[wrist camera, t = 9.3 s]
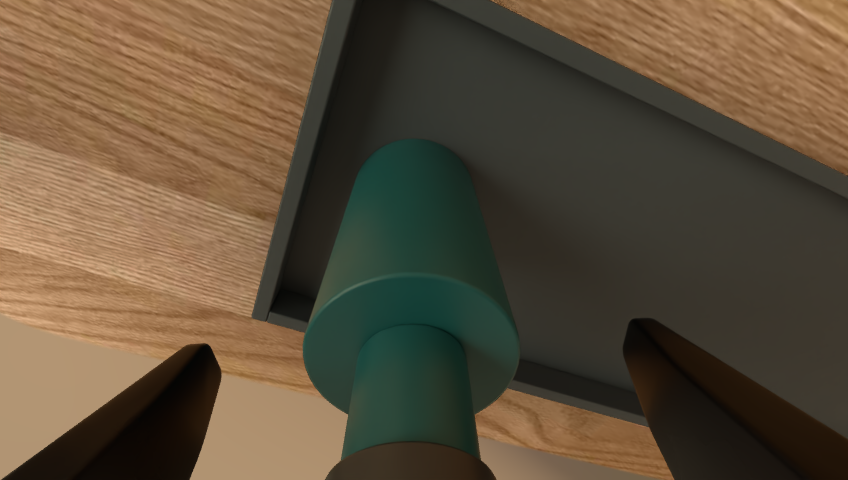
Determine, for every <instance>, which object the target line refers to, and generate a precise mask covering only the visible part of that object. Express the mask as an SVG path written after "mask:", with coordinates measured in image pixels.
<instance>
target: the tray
mask: <svg viewBox="0 0 848 480" xmlns="http://www.w3.org/2000/svg"><path fill="white" fill-rule="evenodd" d="M403 139H424V140H429V141H432V142H435V143H438V144H440V145H443V146H444V147H446V148H448V149H449V150H451V151H452V152H453V153H455V154H456V155H457V156H458V157H459V158H460V159H461V161H462V162H463V163H464V165H465V166H466V168H467V170H468V171H469V174H470V176H471V179H472V182H473V185H474V189H475V192H476V195H477V198H478V202H479V205H480V208H481V212H482V215H483V218H484V222H485V225H486V228H487V231H488V235H489V238H490V241H491V245H492V248H493V251H494V254H495V258H496V261H497V264H498V268H499V271H500V274H501V277H502V281H503V284H504V287H505V291H506V294H507V297H508V301H509V304H510V307H511V310H512V314H513V317H514V320H515V324H516V327H517V330H518V334H519V339H520V359H519V365H518V368H517V371H516V373H515V376H514V378H513V379H512V381H511V383H510V385H509V386H508V387H507V388H508V389H512V390H515V391H519V392H523V393H526V394H530V395H534V396H537V397H541V398H544V399H548V400H552V401H555V402H559V403H563V404H566V405H570V406H574V407H577V408H581V409H585V410H588V411H592V412H596V413H599V414H603V415H606V416H610V417H614V418H617V419H621V420H625V421H628V422H632V423H636V424H639V425H643V426H647V427H649V425H648V423H647V420H646V418H645V415H644V412H643V410H642V407H641V404H640V401H639V398H638V396H637V393H636V390H635V387H634V385H633V382H632V379H631V376H630V374H629V371H628V368H627V365H626V362H625V360H624V357H623V343H624V339H625V335H626V331H627V327H628V324H629V322H630V320H631V319H634V318H653V319H655V320H657V321H658V322H660V323H661V324H663V325H665V326H666V327H668V328H670V329H671V330H673V331H674V332H676V333H678V334H679V335H681V336H682V337H684V338H686V339H687V340H689V341H691V342H692V343H694V344H695V345H697V346H699V347H700V348H702V349H703V350H705V351H707V352H708V353H710V354H712V355H713V356H715V357H716V358H718V359H720V360H721V361H723V362H724V363H726V364H728V365H729V366H731V367H733V368H734V369H736V370H737V371H739V372H741V373H742V374H744V375H745V376H747V377H749V378H750V379H752V380H754V381H755V382H757V383H758V384H760V385H762V386H763V387H765V388H766V389H768V390H770V391H771V392H773V393H775V394H776V395H778V396H779V397H781V398H783V399H784V400H786V401H787V402H789V403H791V404H792V405H794V406H796V407H797V408H799V409H800V410H802V411H804V412H805V413H807V414H808V415H810V416H812V417H813V418H815V419H817V420H818V421H820V422H821V423H823V424H825V425H826V426H828V427H829V428H831V429H833V430H834V431H836V432H838V433H839V434H841V435H842V436H844V437H846V438H847V439H848V176H847V175H845V174H843V173H840V172H838V171H836V170H834V169H832V168H830V167H828V166H826V165H824V164H822V163H820V162H818V161H816V160H814V159H812V158H810V157H808V156H806V155H804V154H802V153H800V152H798V151H796V150H794V149H792V148H790V147H788V146H786V145H784V144H781V143H779V142H777V141H775V140H773V139H771V138H769V137H767V136H765V135H763V134H761V133H759V132H757V131H755V130H753V129H751V128H749V127H747V126H745V125H743V124H741V123H739V122H737V121H735V120H733V119H731V118H729V117H727V116H724V115H722V114H720V113H718V112H716V111H714V110H712V109H710V108H708V107H706V106H704V105H702V104H700V103H698V102H696V101H694V100H692V99H690V98H688V97H686V96H684V95H682V94H680V93H678V92H676V91H674V90H672V89H670V88H667V87H665V86H663V85H661V84H659V83H657V82H655V81H653V80H651V79H649V78H647V77H645V76H643V75H641V74H639V73H637V72H635V71H633V70H631V69H629V68H627V67H625V66H623V65H621V64H619V63H617V62H615V61H613V60H611V59H608V58H606V57H604V56H602V55H600V54H598V53H596V52H594V51H592V50H590V49H588V48H586V47H584V46H582V45H580V44H578V43H576V42H574V41H572V40H570V39H568V38H566V37H564V36H562V35H560V34H558V33H556V32H554V31H551V30H549V29H547V28H545V27H543V26H541V25H539V24H537V23H535V22H533V21H531V20H529V19H527V18H525V17H523V16H521V15H519V14H517V13H515V12H513V11H511V10H509V9H507V8H505V7H503V6H501V5H499V4H497V3H494V2H492V1H490V0H332V3H331V7H330V11H329V15H328V18H327V22H326V26H325V30H324V34H323V38H322V42H321V46H320V50H319V54H318V58H317V62H316V66H315V69H314V73H313V77H312V81H311V85H310V89H309V93H308V97H307V101H306V105H305V109H304V113H303V117H302V120H301V124H300V128H299V132H298V136H297V140H296V144H295V148H294V152H293V156H292V160H291V164H290V168H289V171H288V175H287V179H286V183H285V187H284V191H283V195H282V199H281V203H280V207H279V211H278V215H277V219H276V222H275V226H274V230H273V234H272V238H271V242H270V246H269V250H268V254H267V258H266V262H265V266H264V269H263V273H262V277H261V281H260V285H259V289H258V293H257V297H256V301H255V305H254V309H253V313H252V318H253V319H257V320H260V321H264V322H266V321H267V322H268V323H271V324H275V325H278V326H282V327H286V328H289V329H293V330H297V331H300V332H304V333H305V332H306V329H307V326H308V323H309V320H310V317H311V314H312V311H313V308H314V305H315V302H316V299H317V295H318V292H319V289H320V286H321V283H322V280H323V277H324V274H325V271H326V268H327V265H328V262H329V259H330V256H331V253H332V250H333V247H334V244H335V241H336V238H337V235H338V232H339V229H340V226H341V223H342V220H343V217H344V213H345V210H346V207H347V204H348V201H349V198H350V195H351V192H352V189H353V186H354V183H355V180H356V177H357V174H358V172H359V170H360V168H361V166H362V165H363V164H364V162H365V161H366V160H367V158H368V157H369V156H370V155H371V154H373V153H374V152H375V151H376V150H378V149H379V148H381V147H383V146H384V145H387V144H389V143H391V142H395V141H398V140H403Z"/></svg>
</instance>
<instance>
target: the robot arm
mask: <svg viewBox="0 0 848 480" xmlns="http://www.w3.org/2000/svg"><path fill="white" fill-rule="evenodd" d="M623 357H624V360H625V362H626V365H627V368H628V371H629V374H630V376H631V379H632V382H633V385H634V387H635V390H636V393H637V396H638V398H639V401H640V404H641V407H642V410H643V412H644V415H645V418H646V420H647V423H648V425H649V428H650V430H651V432H652V434H653V436H654V438H655V440H656V443H657V445H658V447H659V449H660V451H661V453H662V455H663V457H664V459H665V461H666V463H667V465H668V467H669V469H670V471H671V473H672V475H673V477H674V480H848V439H847V438H846V437H844V436H842V435H841V434H839V433H838V432H836V431H834V430H833V429H831V428H829V427H828V426H826V425H825V424H823V423H821V422H820V421H818V420H817V419H815V418H813V417H812V416H810V415H808V414H807V413H805V412H804V411H802V410H800V409H799V408H797V407H796V406H794V405H792V404H791V403H789V402H787V401H786V400H784V399H783V398H781V397H779V396H778V395H776V394H775V393H773V392H771V391H770V390H768V389H766V388H765V387H763V386H762V385H760V384H758V383H757V382H755V381H754V380H752V379H750V378H749V377H747V376H745V375H744V374H742V373H741V372H739V371H737V370H736V369H734V368H733V367H731V366H729V365H728V364H726V363H724V362H723V361H721V360H720V359H718V358H716V357H715V356H713V355H712V354H710V353H708V352H707V351H705V350H703V349H702V348H700V347H699V346H697V345H695V344H694V343H692V342H691V341H689V340H687V339H686V338H684V337H682V336H681V335H679V334H678V333H676V332H674V331H673V330H671V329H670V328H668V327H666V326H665V325H663V324H661V323H660V322H658V321H657V320H655V319H653V318H634V319H631V320H630V322H629V324H628V327H627V331H626V335H625V339H624V343H623ZM220 382H221V369H220V366H219V364H218V362H217V360H216V358H215V355H214V353H213V351H212V349H211V347H210V346H209V345H208V344H205V343H202V344H189V345H186V346H185V347H183V348H182V349H180V350H179V351H178V352H176V353H175V354H173V355H172V356H171V357H169V358H168V359H167V360H165V361H164V362H163V363H161V364H160V365H158V366H157V367H156V368H154V369H153V370H151V371H150V372H149V373H147V374H146V375H145V376H143V377H142V378H140V379H139V380H138V381H136V382H135V383H134V384H132V385H131V386H129V387H128V388H127V389H125V390H124V391H123V392H121V393H120V394H118V395H117V396H116V397H114V398H113V399H112V400H110V401H109V402H108V403H106V404H105V405H103V406H102V407H101V408H99V409H98V410H96V411H95V412H94V413H92V414H91V415H90V416H88V417H87V418H85V419H84V420H83V421H81V422H80V423H78V424H77V425H76V426H74V427H73V428H72V429H70V430H69V431H67V432H66V433H65V434H63V435H62V436H61V437H59V438H58V439H56V440H55V441H54V442H52V443H51V444H50V445H48V446H47V447H45V448H44V449H43V450H41V451H40V452H39V453H37V454H36V455H34V456H33V457H32V458H31V459H29V460H28V461H26V462H25V463H23V464H22V465H21V466H19V467H18V468H17V469H15V470H14V471H12V472H11V473H10V474H8V475H7V476H6V477H4V478H3V479H2V480H190V477H191V474H192V472H193V469H194V467H195V464H196V462H197V459H198V457H199V454H200V451H201V448H202V445H203V442H204V439H205V435H206V432H207V428H208V425H209V421H210V418H211V414H212V411H213V407H214V403H215V400H216V396H217V393H218V389H219V385H220Z"/></svg>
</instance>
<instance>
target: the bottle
mask: <svg viewBox="0 0 848 480" xmlns="http://www.w3.org/2000/svg"><path fill="white" fill-rule="evenodd" d="M303 358H304V363H305V368H306V370H307V373H308V375H309V378H310V380H311V381H312V383H313V385H314V386H315V388H316V389H317V390H318V391H319V392H320V394H321V395H322V396H323V397H324V398H325V399H326V400H327V401H329V402H330V403H331V404H332V405H334V406H335V407H336V408H338V409H340V410H341V411H343V412H345V413H346V414H348V420H347V426H346V432H345V439H344V445H343V451H342V457H341V461H340V462H339V463H338V464H336V466H334V468H333V469H332V470H331V471H330V472H329V474H328V475H327V477H326V479H325V480H496V478H495V476H494V474H493V473H492V471H491V470H490V469H489V467H488V466H487V465H486V464H485V463H484V462H482V461H481V458H480V451H479V443H478V436H477V429H476V422H475V414H477V413H478V412H480V411H482V410H483V409H485V408H486V407H488V406H489V405H490V404H492V403H493V402H494V401H496V400H497V399H498V398H499V397H500V396H501V395H502V394H503V393H504V391H505V390H506V389H507V387H508V386H509V385H510V383H511V381H512V379H513V378H514V376H515V373H516V371H517V368H518V365H519V359H520V339H519V334H518V330H517V327H516V324H515V320H514V317H513V314H512V310H511V307H510V304H509V301H508V297H507V294H506V291H505V287H504V284H503V281H502V277H501V274H500V271H499V268H498V264H497V261H496V258H495V254H494V251H493V248H492V245H491V241H490V238H489V235H488V231H487V228H486V225H485V222H484V218H483V215H482V212H481V208H480V205H479V202H478V198H477V195H476V192H475V189H474V185H473V182H472V179H471V176H470V174H469V171H468V170H467V168H466V166H465V165H464V163H463V162H462V161H461V159H460V158H459V157H458V156H457V155H456V154H455V153H453V152H452V151H451V150H449V149H448V148H446V147H444V146H443V145H440V144H438V143H435V142H432V141H429V140H424V139H403V140H398V141H395V142H391V143H389V144H387V145H384V146H383V147H381V148H379V149H378V150H376V151H375V152H374V153H373V154H371V155H370V156H369V157H368V158H367V160H366V161H365V162H364V164H363V165H362V166H361V168H360V170H359V172H358V174H357V177H356V180H355V183H354V186H353V189H352V192H351V195H350V198H349V201H348V204H347V207H346V210H345V213H344V217H343V220H342V223H341V226H340V229H339V232H338V235H337V238H336V241H335V244H334V247H333V250H332V253H331V256H330V259H329V262H328V265H327V268H326V271H325V274H324V277H323V280H322V283H321V286H320V289H319V292H318V295H317V299H316V302H315V305H314V308H313V311H312V314H311V317H310V320H309V323H308V326H307V329H306V332H305V335H304V341H303Z"/></svg>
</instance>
